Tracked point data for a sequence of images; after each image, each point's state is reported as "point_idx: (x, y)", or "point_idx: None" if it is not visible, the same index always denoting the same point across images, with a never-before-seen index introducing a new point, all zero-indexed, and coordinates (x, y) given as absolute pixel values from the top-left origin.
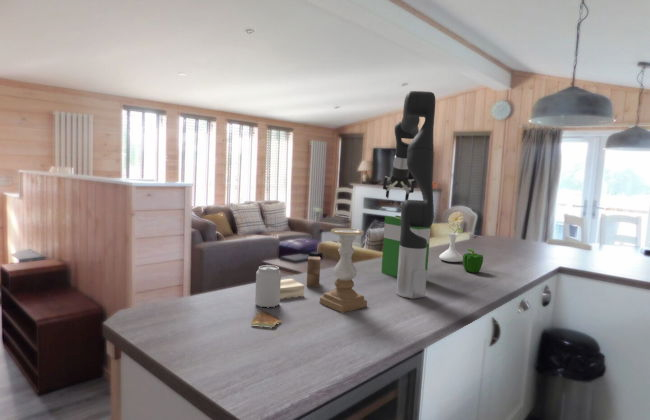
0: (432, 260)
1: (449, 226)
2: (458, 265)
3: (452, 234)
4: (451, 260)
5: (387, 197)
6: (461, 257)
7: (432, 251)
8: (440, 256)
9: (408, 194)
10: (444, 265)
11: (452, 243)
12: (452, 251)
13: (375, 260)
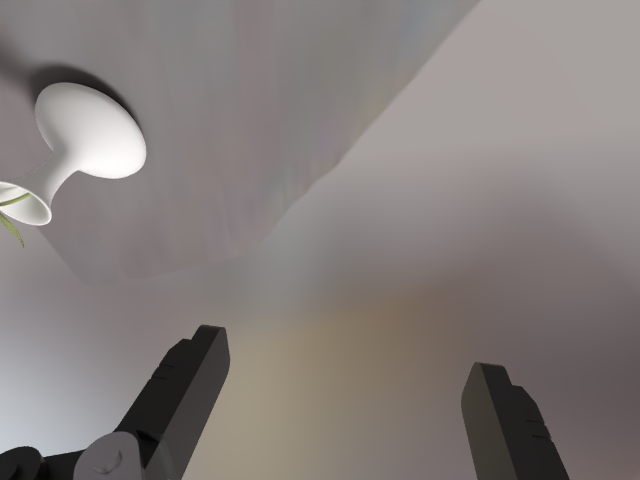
0: (172, 116)
1: (20, 239)
2: (39, 47)
3: (9, 182)
4: (73, 83)
5: (499, 373)
6: (36, 116)
7: (205, 257)
8: (132, 127)
9: (132, 418)
10: (92, 19)
11: (47, 163)
12: (62, 132)
13: (454, 6)
